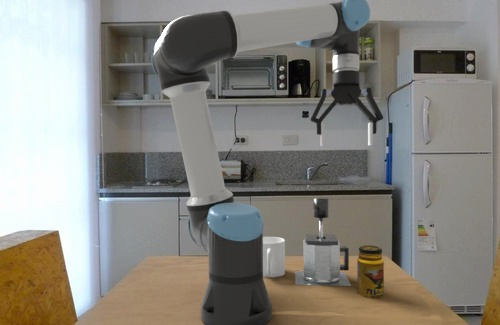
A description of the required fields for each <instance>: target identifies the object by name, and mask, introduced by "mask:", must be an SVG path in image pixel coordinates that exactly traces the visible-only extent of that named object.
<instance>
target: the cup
mask: <svg viewBox="0 0 500 325" xmlns="http://www.w3.org/2000/svg"><path fill="white" fill-rule="evenodd" d="M285 241H286V240H285V239H284V238H282V237H278V236H263V278H277V277H282V276H285V274H286V247H285V246H286V244H285V243H286V242H285Z"/></svg>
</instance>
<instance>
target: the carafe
mask: <svg viewBox="0 0 500 325" xmlns="http://www.w3.org/2000/svg"><path fill="white" fill-rule="evenodd" d="M302 242H303V246H302V247H303V248H302V249H303V271H304V279H305V280H306V281H308V282H311V283H315V284H333V283H336V282H338V281H339V280H340V272H341V271H349V269H350V267H349V263H350V261H349V260H350V259H349V256H350V255H349V247H348V246H346V245H345V246H341V243H340V241H339V240H338V238H337V237H336V235H335V234H324V233H323V239H319V233H318V234H317V233H316V234H315V233H314V234H313V233H311V234H310V233H308V234H307V233H306V234H305V238H304V239H303V241H302ZM341 253H343V264H341Z"/></svg>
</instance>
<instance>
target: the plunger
mask: <svg viewBox="0 0 500 325" xmlns="http://www.w3.org/2000/svg"><path fill="white" fill-rule="evenodd" d="M312 200H313V201H312V202H313V208H312V209H313V210H312V211H313V218H315V219H316V218H317V219H318V224H319V225H318V229H319V231H318V234H319V239H323V234H324V219H327V218H329V212H330V211H329V198H328V197H313V199H312Z"/></svg>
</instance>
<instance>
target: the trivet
mask: <svg viewBox="0 0 500 325" xmlns="http://www.w3.org/2000/svg"><path fill="white" fill-rule="evenodd" d="M294 274H295V285H296V286H305V285H306V286H327V287H328V286H335V287H352V284H351V283H350V280H349V278H348V276H347V274H346V272H345V271H340V280H339V281H338V282H336V283H333V284H315V283H311V282H308V281H306V280H305V279H304V270H295V271H294Z"/></svg>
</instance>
